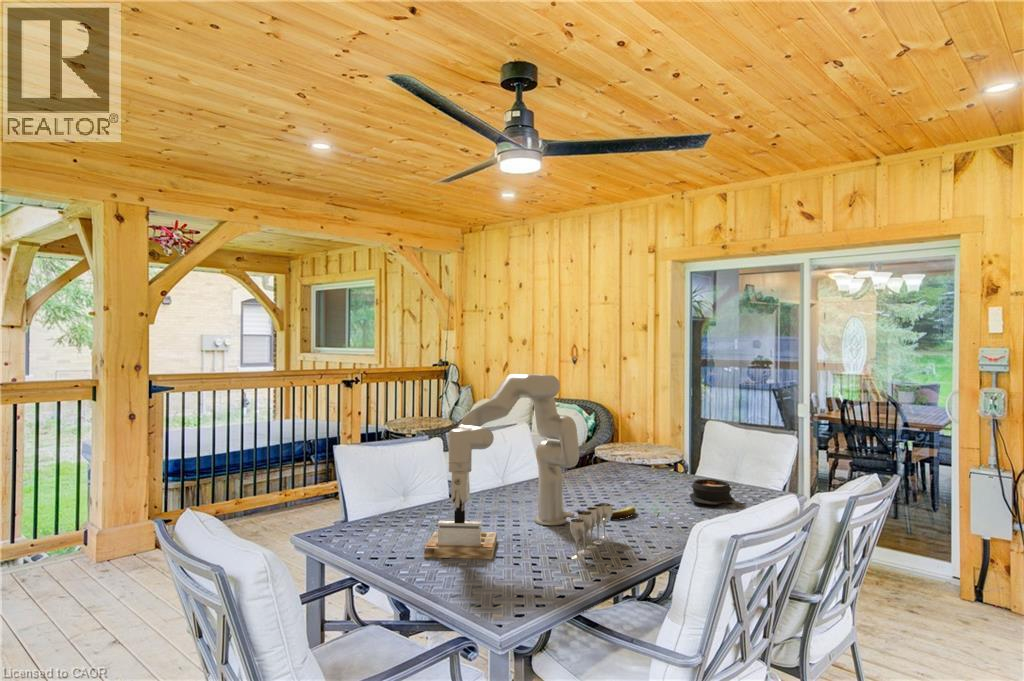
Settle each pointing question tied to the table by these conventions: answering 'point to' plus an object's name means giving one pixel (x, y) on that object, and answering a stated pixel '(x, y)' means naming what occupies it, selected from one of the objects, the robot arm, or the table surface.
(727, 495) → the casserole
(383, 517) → the table surface
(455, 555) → the rack
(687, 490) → the table surface
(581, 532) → the goblet set
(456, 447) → the robot arm
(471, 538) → the blanking panel
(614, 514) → the yellow brown curved block
